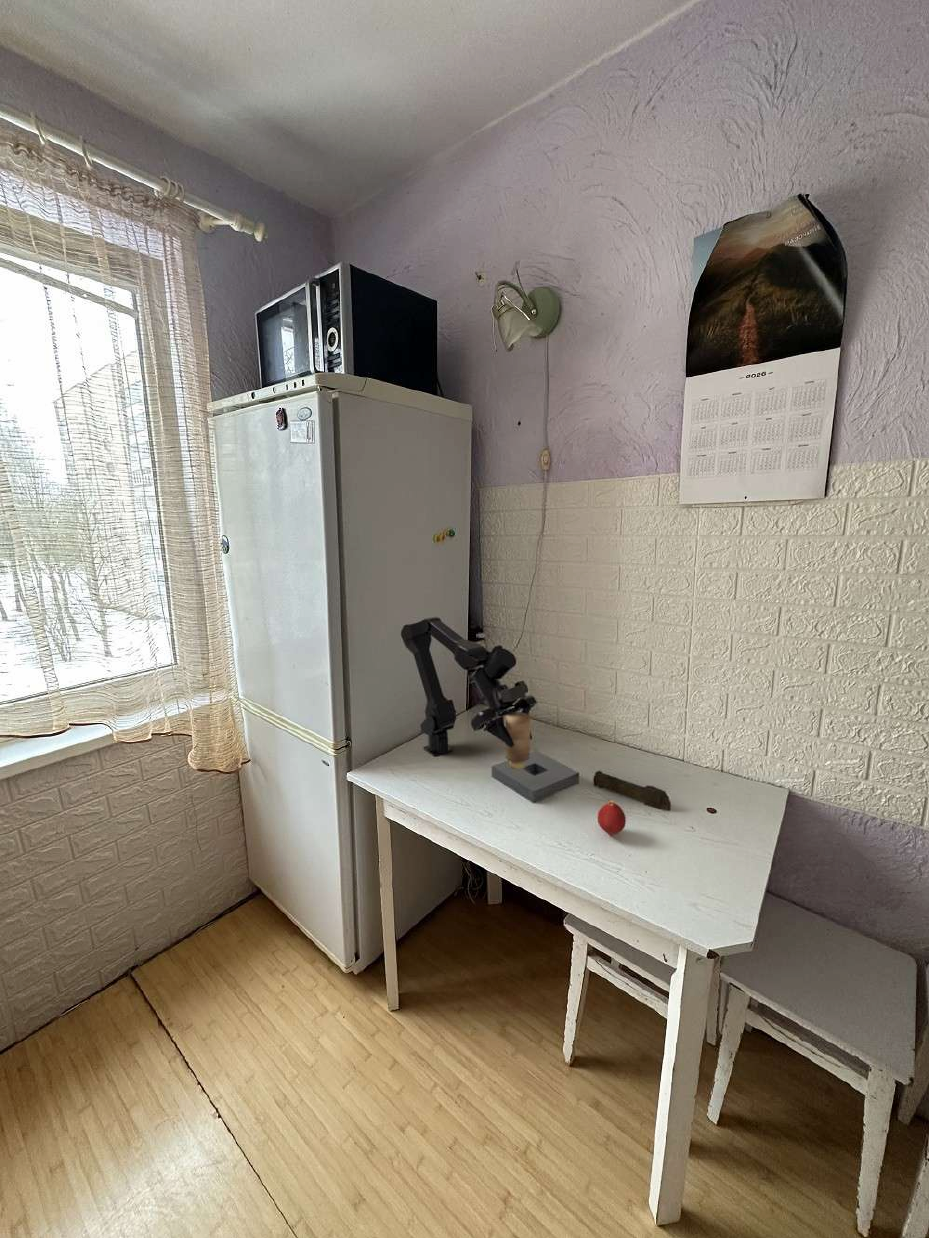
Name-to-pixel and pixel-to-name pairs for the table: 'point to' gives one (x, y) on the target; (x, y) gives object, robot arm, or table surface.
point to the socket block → (536, 777)
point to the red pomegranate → (611, 818)
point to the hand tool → (633, 791)
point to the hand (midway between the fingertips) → (521, 742)
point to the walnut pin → (518, 739)
